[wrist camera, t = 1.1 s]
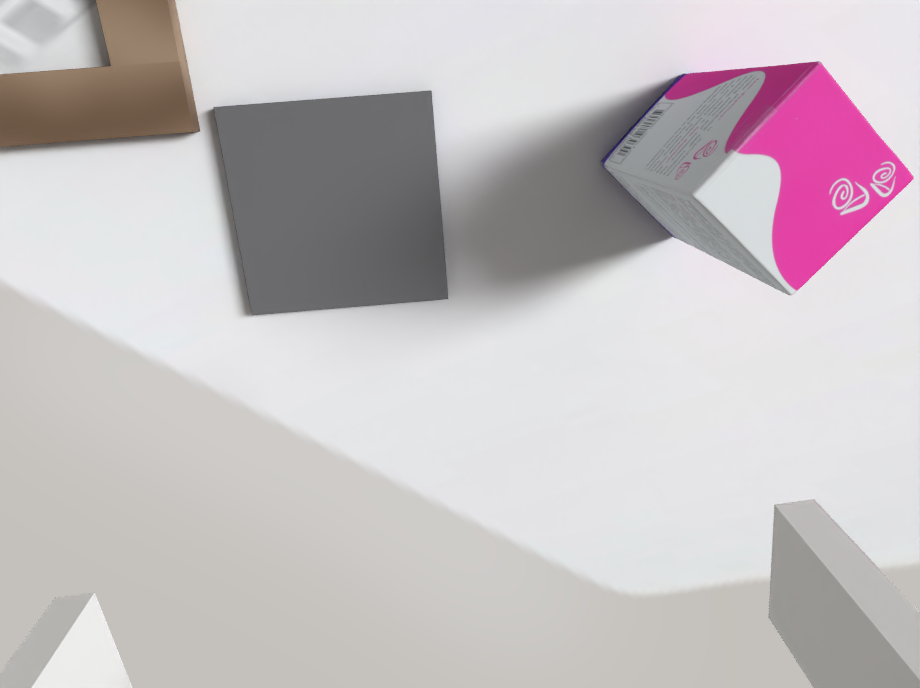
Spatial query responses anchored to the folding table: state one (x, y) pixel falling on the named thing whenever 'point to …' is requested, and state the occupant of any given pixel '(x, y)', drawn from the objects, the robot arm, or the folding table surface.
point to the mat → (335, 201)
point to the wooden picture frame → (108, 84)
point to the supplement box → (759, 168)
